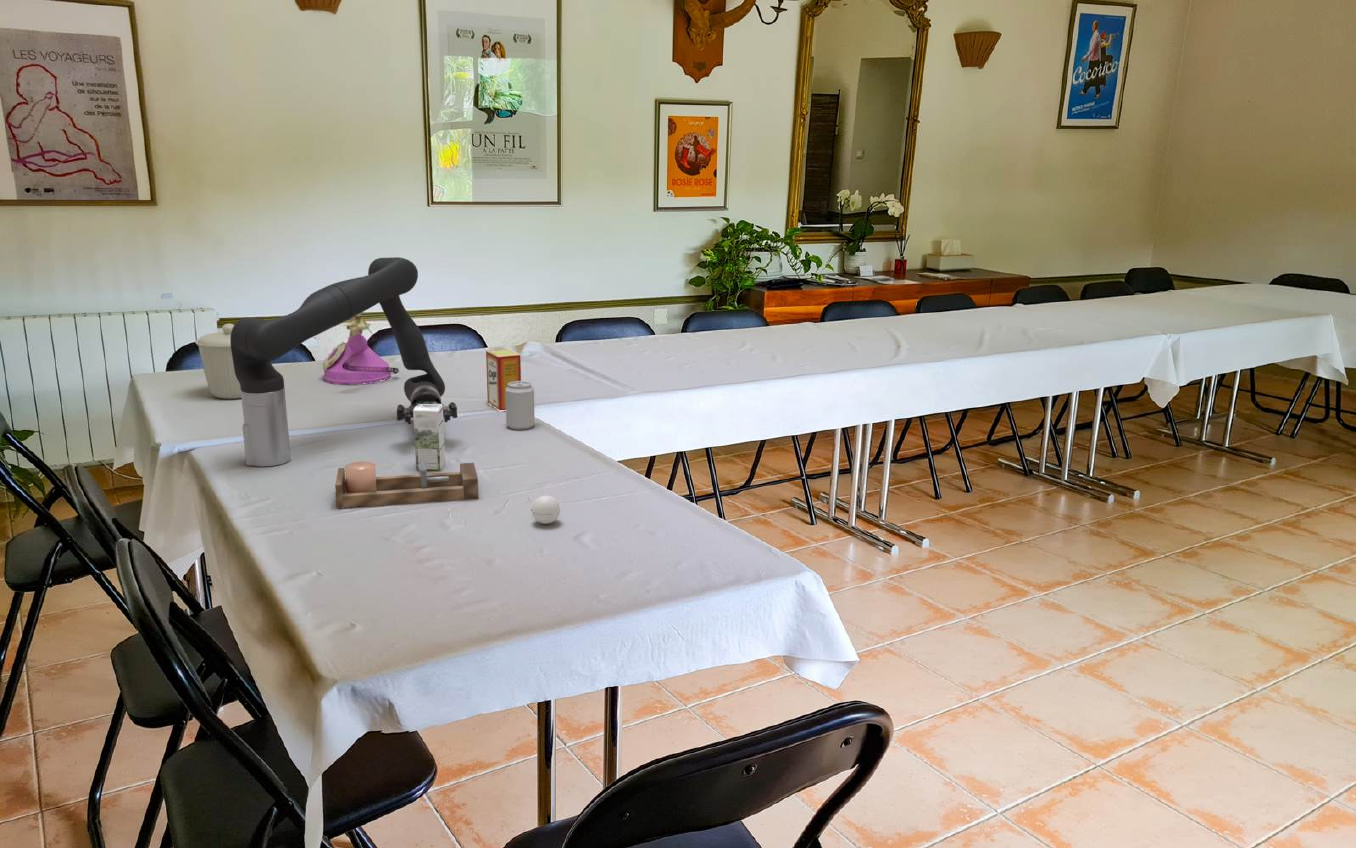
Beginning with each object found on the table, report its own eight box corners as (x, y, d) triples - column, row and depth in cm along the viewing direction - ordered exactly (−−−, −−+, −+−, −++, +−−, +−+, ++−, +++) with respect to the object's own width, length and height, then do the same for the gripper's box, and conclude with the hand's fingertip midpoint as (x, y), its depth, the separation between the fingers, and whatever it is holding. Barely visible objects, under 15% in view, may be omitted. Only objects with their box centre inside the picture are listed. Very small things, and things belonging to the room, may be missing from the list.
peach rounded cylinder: (346, 503, 200) (344, 471, 198) (347, 494, 205) (345, 462, 203) (376, 501, 201) (374, 469, 199) (377, 492, 207) (375, 460, 205)
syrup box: (445, 463, 227) (443, 403, 223) (440, 471, 221) (437, 409, 217) (421, 463, 226) (418, 402, 223) (415, 471, 221) (412, 409, 217)
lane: (336, 508, 197) (335, 485, 195) (340, 490, 207) (338, 468, 206) (478, 498, 204) (477, 476, 203) (474, 481, 215) (473, 460, 213)
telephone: (319, 372, 315) (313, 295, 308) (390, 367, 324) (386, 292, 318) (331, 397, 284) (324, 312, 277) (409, 391, 293) (405, 308, 287)
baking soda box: (487, 404, 280) (486, 349, 276) (509, 401, 283) (507, 347, 279) (499, 412, 272) (498, 355, 268) (521, 409, 275) (520, 353, 271)
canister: (252, 403, 275) (245, 330, 269) (189, 401, 275) (181, 328, 270) (279, 388, 292) (273, 319, 287) (219, 387, 293) (212, 317, 287)
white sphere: (546, 515, 196) (545, 489, 194) (566, 522, 192) (566, 496, 191) (517, 526, 190) (516, 499, 188) (537, 533, 186) (537, 506, 185)
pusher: (421, 497, 203) (420, 470, 201) (421, 487, 209) (419, 460, 208) (450, 495, 205) (448, 468, 203) (448, 485, 211) (447, 458, 209)
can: (507, 431, 253) (506, 386, 250) (504, 424, 260) (503, 380, 257) (536, 430, 255) (535, 385, 252) (532, 422, 262) (532, 379, 259)
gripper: (396, 389, 244) (395, 405, 229) (454, 387, 247) (457, 402, 232) (397, 418, 246) (397, 435, 231) (455, 415, 249) (459, 432, 234)
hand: (427, 419), depth 231 cm, fingers open, 8 cm apart
